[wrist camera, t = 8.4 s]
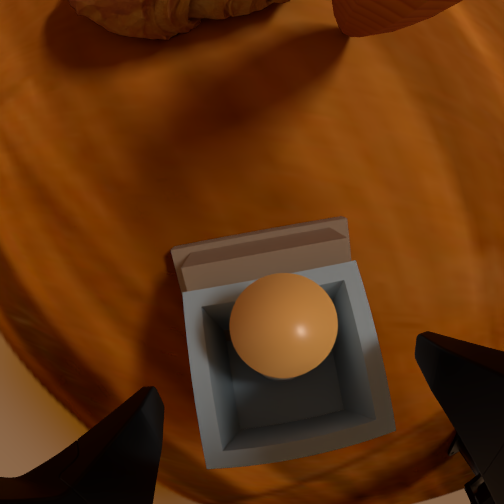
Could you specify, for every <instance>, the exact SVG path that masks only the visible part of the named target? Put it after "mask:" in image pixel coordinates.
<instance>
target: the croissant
mask: <svg viewBox="0 0 504 504" xmlns="http://www.w3.org/2000/svg"><path fill="white" fill-rule="evenodd" d="M288 1H290V0H69V3H70V6H72V7H73V8H74V9H75V10H76V12H77V15H83V16H86V17H88V18H89V19H91V20H92V21H94V22H95V23H97V24H98V25H100V26H102V27H103V28H105V29H106V30H107V31H109V32H112V33H115V34H118V35H122V36H128V37H138V38H148V39H152V40H153V39H164V40H170V38H171V37H172V36H173V35H177V33H188V32H190V30H191V29H192V28H195V27H197V26H198V25H199V24H200V21H201V19H202V18H210V19H226V18H227V17H229V16H232V17H234V16H240V15H247V14H250V13H251V12H253V11H259V10H262V9H263V8H265V7H267V6H268V5H270V4H272V3H273V2H275V3H285V2H288Z"/></svg>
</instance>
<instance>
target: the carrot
mask: <svg viewBox="0 0 504 504" xmlns="http://www.w3.org/2000/svg"><path fill="white" fill-rule="evenodd" d="M460 1H462V0H332V5H333V11H334V16H335V18H336V21H337V24H338V26H339V28H340V30H341V31H342V33H343V34H346V35H348V36H350V37H364V36H369V35H375V34H381V33H387V32H393V31H396V30H398V29H401V28H404V27H407V26H410V25H413V24H415V23H418V22H420V21H423V20H425V19H428V18H431V17H433V16H435V15H437V14H438V13H440V12H442V11H444V10H446V9H447V8H449V7H451V6H453V5H455V4H457V3H459V2H460Z"/></svg>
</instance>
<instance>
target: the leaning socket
mask: <svg viewBox="0 0 504 504" xmlns="http://www.w3.org/2000/svg"><path fill="white" fill-rule="evenodd" d="M171 253H172V258H173V262H174V266H175V270H176V274H177V277H178V281H179V285H180V289H181V293H182V296H183V305H184V317H185V327H186V336H187V345H188V354H189V362H190V370H191V377H192V385H193V392H194V398H195V405H196V411H197V417H198V423H199V429H200V435H201V441H202V446H203V451H204V457H205V462H206V467H207V469H215V468H230V467H241V466H251V465H259V464H266V463H273V462H279V461H285V460H291V459H296V458H301V457H306V456H311V455H316V454H320V453H324V452H328V451H332V450H336V449H340V448H344V447H347V446H351V445H354V444H357V443H361V442H364V441H367V440H370V439H373V438H376V437H379V436H382V435H385V434H388V433H391V432H393V431H396V428H395V421H394V415H393V410H392V404H391V399H390V393H389V388H388V383H387V378H386V373H385V369H384V364H383V359H382V355H381V351H380V346H379V342H378V338H377V334H376V330H375V326H374V322H373V318H372V315H371V311H370V307H369V304H368V300H367V297H366V293H365V290H364V286H363V283H362V279H361V276H360V273H359V270H358V266H357V263H356V260H355V261H351V253H350V242H349V232H348V223H347V218H345V217H342V216H340V217H334V218H328V219H323V220H317V221H311V222H305V223H299V224H293V225H288V226H282V227H276V228H271V229H265V230H260V231H254V232H249V233H243V234H238V235H232V236H227V237H221V238H216V239H211V240H206V241H200V242H195V243H190V244H185V245H180V246H174V247H173V248H172V249H171ZM277 273H292V274H297V275H301V276H304V277H306V278H308V279H310V280H312V281H314V282H315V283H317V284H318V285H319V286H320V287H322V288H323V289H324V290H325V292H326V293H327V294H328V295H329V297H330V298H331V300H332V302H333V304H334V306H335V309H336V313H337V318H338V331H337V336H336V340H335V343H334V346H333V348H332V349H331V351H330V353H329V354H328V356H327V357H326V358H325V359H324V360H323V361H322V362H321V363H320V364H319V365H318V366H317V367H315V368H314V369H312V370H310V371H309V372H307V373H305V374H303V375H300V376H298V377H296V378H294V379H292V380H289V381H283V382H278V381H273V380H270V379H267V378H265V377H264V376H262V375H261V374H260V373H258V372H257V371H255V370H254V369H252V368H251V367H250V366H249V365H247V364H246V363H245V362H244V361H243V360H242V359H241V357H240V356H239V354H238V353H237V351H236V349H235V348H234V345H233V343H232V340H231V335H230V327H229V325H230V316H231V312H232V309H233V306H234V304H235V302H236V300H237V298H238V297H239V295H240V294H241V293H242V292H243V291H244V289H246V288H247V287H248V286H249V285H250V284H252V283H253V282H254V281H256V280H258V279H260V278H262V277H265V276H267V275H271V274H277ZM343 409H344V410H343ZM339 410H340V411H339ZM319 415H320V416H319ZM315 416H316V417H315ZM306 418H307V419H306ZM301 419H302V420H301ZM296 420H297V421H296ZM291 421H292V422H291ZM286 422H287V423H286ZM280 423H281V424H280ZM268 425H269V426H268ZM262 426H263V427H262ZM255 427H256V428H255ZM240 428H241V429H240ZM248 428H249V429H248Z"/></svg>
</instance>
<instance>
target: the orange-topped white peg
mask: <svg viewBox="0 0 504 504" xmlns="http://www.w3.org/2000/svg"><path fill="white" fill-rule="evenodd" d="M229 327H230V335H231V340H232V343H233V345H234V348H235V349H236V351H237V353H238V354H239V356H240V357H241V359H242V360H243V361H244V362H245V363H246V364H247V365H249V366H250V367H251V368H252V369H254V370H255V371H257V372H258V373H260V374H261V375H262V376H264V377H265V378H267V379H270V380H273V381H278V382H283V381H289V380H292V379H294V378H296V377H298V376H300V375H303V374H305V373H307V372H309V371H310V370H312V369H314V368H315V367H317V366H318V365H319V364H320V363H321V362H322V361H323V360H324V359H325V358H326V357H327V356H328V354H329V353H330V351H331V349H332V348H333V346H334V343H335V340H336V336H337V331H338V318H337V313H336V309H335V306H334V304H333V302H332V300H331V298H330V297H329V295H328V294H327V293H326V292H325V290H324V289H323V288H322V287H320V286H319V285H318V284H317V283H315V282H314V281H312V280H310V279H308V278H306V277H304V276H301V275H297V274H292V273H277V274H271V275H267V276H265V277H262V278H260V279H258V280H256V281H254V282H253V283H252V284H250V285H249V286H248V287H247V288H246V289H244V291H243V292H242V293H241V294H240V295H239V297H238V298H237V300H236V302H235V304H234V306H233V309H232V312H231V316H230V325H229Z"/></svg>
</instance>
